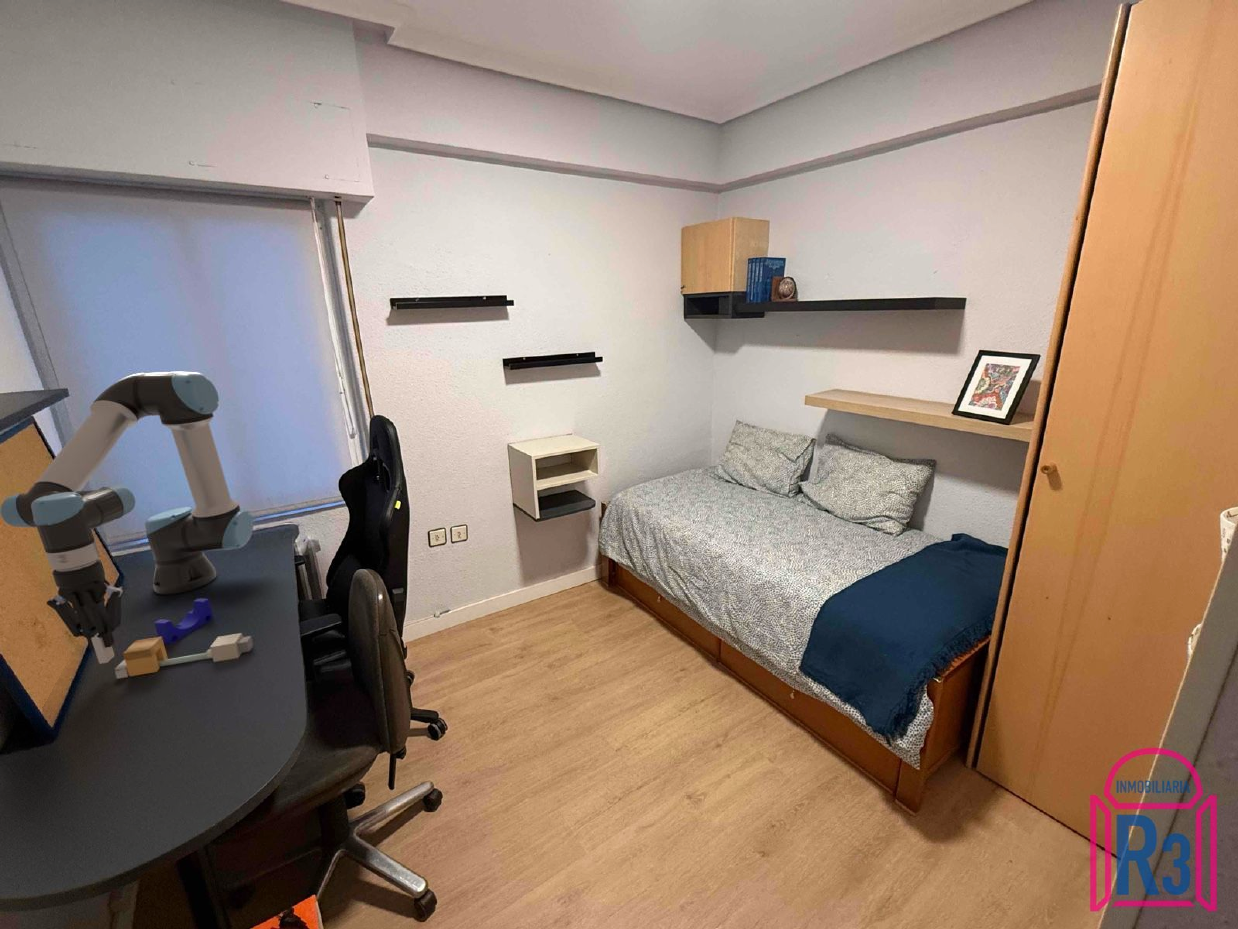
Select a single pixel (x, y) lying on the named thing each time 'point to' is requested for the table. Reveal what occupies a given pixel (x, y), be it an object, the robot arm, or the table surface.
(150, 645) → the sleeve
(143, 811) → the table surface
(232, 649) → the cord run
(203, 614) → the cable clip
